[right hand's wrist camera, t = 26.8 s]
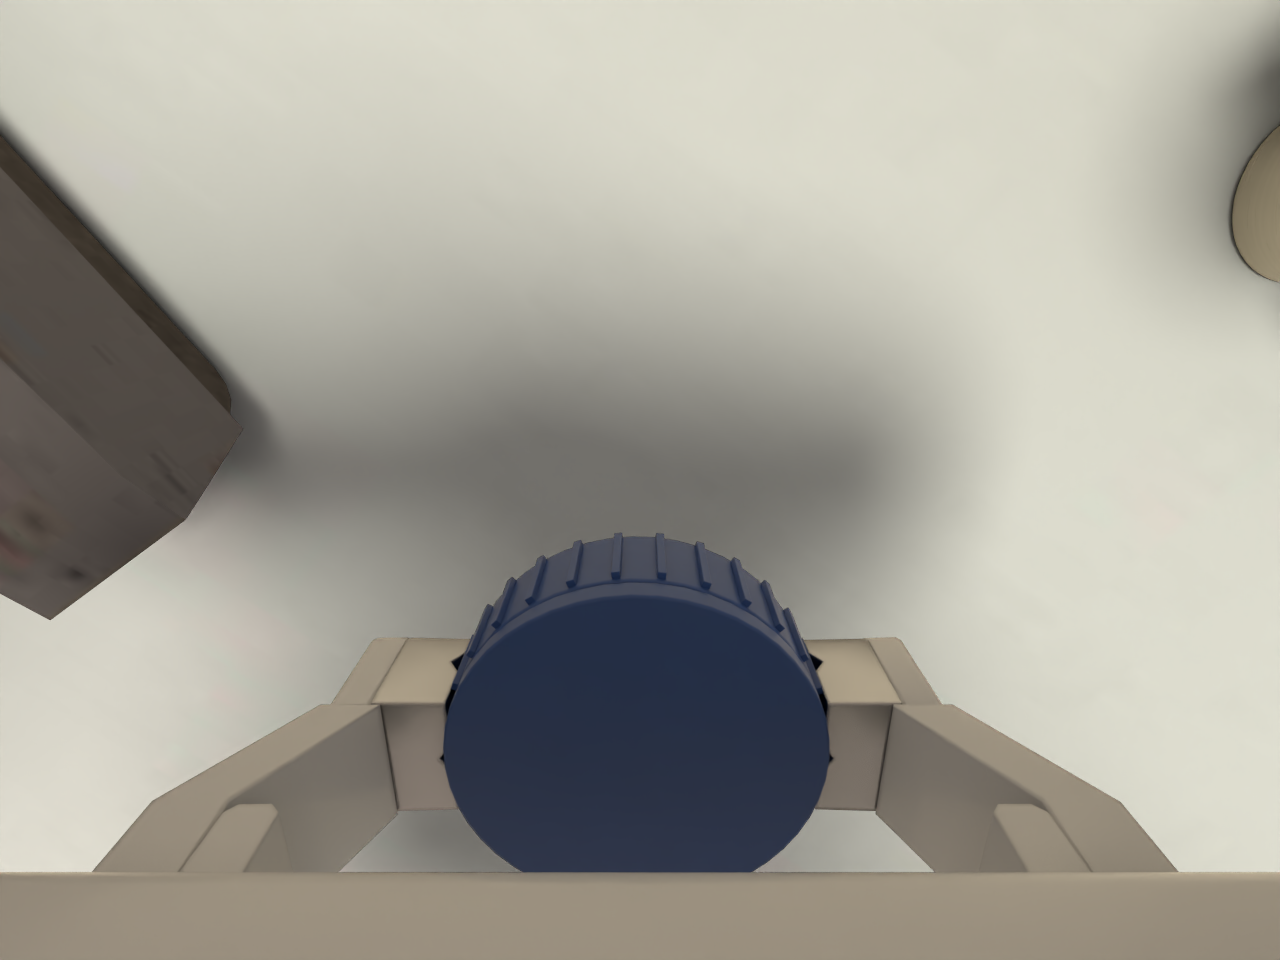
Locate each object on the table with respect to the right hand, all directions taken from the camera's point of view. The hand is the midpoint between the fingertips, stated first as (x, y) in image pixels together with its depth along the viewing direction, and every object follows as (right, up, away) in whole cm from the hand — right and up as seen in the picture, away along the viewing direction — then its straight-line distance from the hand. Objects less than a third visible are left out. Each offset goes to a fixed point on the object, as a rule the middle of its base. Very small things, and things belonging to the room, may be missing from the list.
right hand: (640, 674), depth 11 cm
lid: (0, -1, -2) cm, 2 cm away
